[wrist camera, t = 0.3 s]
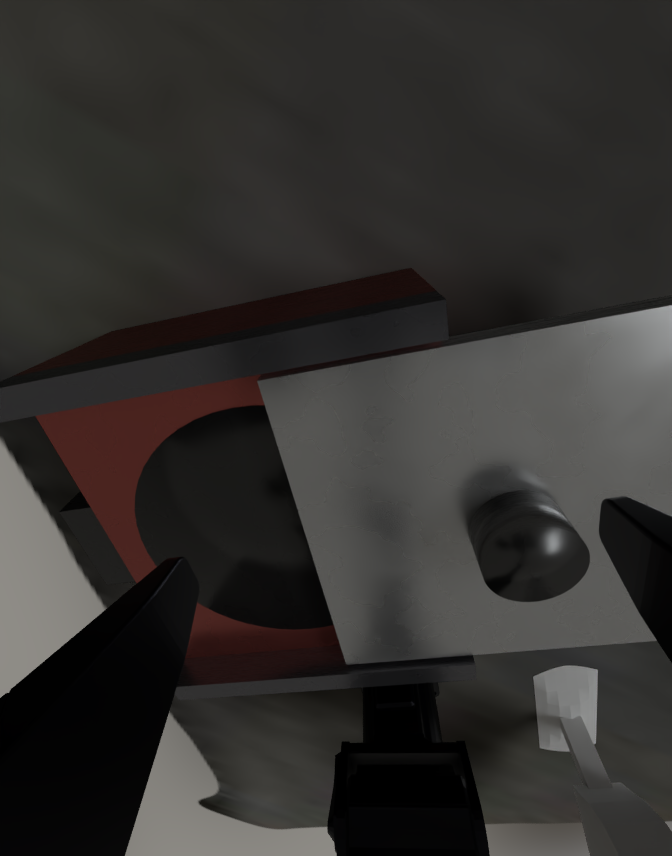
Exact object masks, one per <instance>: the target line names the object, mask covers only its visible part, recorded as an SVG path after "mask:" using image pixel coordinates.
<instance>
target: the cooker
mask: <svg viewBox="0 0 672 856" xmlns="http://www.w3.org/2000/svg"><path fill="white" fill-rule="evenodd" d="M443 340H449V333H448V320H447V308H446V299H445V298H444V297H443V296H442V295H440V294H439V293H438V292H437V291H436V290H435V289H434V288H433V287H432V286H431V285H430V284H428V283H427V282H426V281H425V280H424V279H423V278H422V277H421V276H420V275H419V274H418V273H416V272H415V271H414V270H413V269H412V268H408V269H403V270H399V271H394V272H389V273H385V274H380V275H375V276H370V277H366V278H361V279H356V280H352V281H347V282H342V283H337V284H333V285H328V286H323V287H319V288H314V289H309V290H304V291H300V292H295V293H290V294H286V295H281V296H276V297H271V298H267V299H262V300H257V301H253V302H248V303H243V304H238V305H234V306H229V307H224V308H220V309H215V310H210V311H205V312H201V313H196V314H191V315H187V316H182V317H177V318H172V319H168V320H163V321H158V322H154V323H149V324H144V325H139V326H135V327H130V328H125V329H121V330H116V331H112V332H109V333H107V334H105V335H103V336H100V337H98V338H96V339H94V340H92V341H89V342H87V343H85V344H83V345H81V346H78V347H76V348H74V349H72V350H70V351H67V352H65V353H63V354H61V355H58V356H56V357H54V358H52V359H50V360H47V361H45V362H43V363H41V364H39V365H36V366H34V367H32V368H30V369H28V370H25V371H23V372H21V373H19V374H17V375H14V376H12V377H10V378H8V379H5V380H3V381H1V382H0V422H6V421H11V420H17V419H22V418H27V417H33V416H36V418H37V420H38V421H39V423H40V425H41V426H42V428H43V430H44V431H45V433H46V434H47V436H48V438H49V439H50V441H51V443H52V444H53V446H54V448H55V449H56V451H57V453H58V454H59V456H60V458H61V459H62V461H63V463H64V464H65V466H66V468H67V469H68V471H69V472H70V474H71V476H72V477H73V479H74V481H75V482H76V484H77V486H78V487H79V489H80V491H81V492H79V493H78V494H77V495H76V496H75V497H74V498H73V499H72V500H71V501H70V502H69V503H68V504H67V505H66V506H65V507H64V508H63V509H62V510H61V511H60V512H59V513H60V514H61V516H62V517H63V519H64V520H65V522H66V523H67V525H68V526H69V528H70V529H71V531H72V533H73V534H74V536H75V537H76V539H77V540H78V542H79V543H80V545H81V546H82V548H83V549H84V551H85V552H86V554H87V555H88V557H89V559H90V560H91V562H92V563H93V565H94V566H95V568H96V569H97V571H98V572H99V574H100V575H101V577H102V578H103V580H104V581H105V583H106V585H110V584H118V583H127V582H136V583H138V582H139V581H141V580H142V579H143V578H144V577H145V576H146V575H148V574H149V573H150V572H151V571H152V570H154V569H155V568H156V567H157V566H158V565H160V564H161V563H162V562H163V561H164V560H166V559H168V558H174V557H185V558H186V559H187V560H188V562H189V564H190V565H191V567H192V569H193V571H194V573H195V575H196V577H197V579H198V581H199V587H200V589H199V596H198V601H197V606H196V610H195V615H194V620H193V625H192V630H191V635H190V640H189V644H188V649H187V653H186V657H185V661H184V664H183V668H182V671H181V675H180V678H179V681H178V684H177V688H176V691H175V695H176V697H177V698H178V700H189V699H203V698H218V697H232V696H246V695H261V694H275V693H290V692H304V691H318V690H333V689H347V688H362V687H376V686H390V685H405V684H419V683H434V682H448V681H462V680H476V669H475V662H474V658H473V655H466V656H453V657H440V658H428V659H415V660H402V661H389V662H376V663H363V664H350V665H346V662H345V659H344V656H343V653H342V649H341V646H340V643H339V640H338V637H337V634H336V630H335V627H334V624H333V621H332V618H331V614H330V611H329V608H328V605H327V602H326V599H325V595H324V592H323V589H322V586H321V583H320V579H319V576H318V573H317V570H316V567H315V564H314V560H313V557H312V554H311V551H310V548H309V544H308V541H307V538H306V535H305V532H304V529H303V525H302V522H301V519H300V516H299V513H298V509H297V506H296V503H295V500H294V497H293V494H292V490H291V487H290V484H289V481H288V478H287V474H286V471H285V468H284V465H283V462H282V459H281V455H280V452H279V449H278V446H277V443H276V439H275V436H274V433H273V430H272V427H271V423H270V420H269V417H268V414H267V411H266V408H265V404H264V401H263V398H262V395H261V392H260V388H259V385H258V382H257V381H258V379H259V377H260V376H261V374H265V373H270V372H276V371H281V370H287V369H292V368H297V367H303V366H308V365H314V364H319V363H324V362H330V361H335V360H341V359H346V358H351V357H357V356H362V355H368V354H373V353H378V352H384V351H389V350H395V349H400V348H405V347H411V346H416V345H422V344H427V343H432V342H438V341H443Z"/></svg>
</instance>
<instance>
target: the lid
mask: <svg viewBox="0 0 672 856" xmlns="http://www.w3.org/2000/svg"><path fill="white" fill-rule="evenodd" d="M257 382H258V385H259V388H260V392H261V395H262V398H263V401H264V404H265V408H266V411H267V414H268V417H269V420H270V423H271V427H272V430H273V433H274V436H275V439H276V443H277V446H278V449H279V452H280V455H281V459H282V462H283V465H284V468H285V471H286V474H287V478H288V481H289V484H290V487H291V490H292V494H293V497H294V500H295V503H296V506H297V509H298V513H299V516H300V519H301V522H302V525H303V529H304V532H305V535H306V538H307V541H308V544H309V548H310V551H311V554H312V557H313V560H314V564H315V567H316V570H317V573H318V576H319V579H320V583H321V586H322V589H323V592H324V595H325V599H326V602H327V605H328V608H329V611H330V614H331V618H332V621H333V624H334V627H335V630H336V634H337V637H338V640H339V643H340V646H341V649H342V653H343V656H344V659H345V662H346V665H350V664H363V663H376V662H389V661H402V660H415V659H428V658H440V657H453V656H466V655H479V654H492V653H505V652H518V651H530V650H543V649H556V648H569V647H582V646H595V645H608V644H620V643H633V642H646V641H657V640H656V638H655V637H654V635H653V634H652V632H651V631H650V629H649V628H648V626H647V625H646V623H645V622H644V620H643V618H642V617H641V615H640V614H639V612H638V610H637V608H636V606H635V605H634V603H633V601H632V599H631V597H630V595H629V593H628V592H627V590H626V588H625V586H624V584H623V582H622V580H621V578H620V576H619V574H618V572H617V571H616V569H615V567H614V565H613V563H612V561H611V559H610V557H609V555H608V553H607V551H606V550H605V548H604V546H603V544H602V542H601V539H600V536H599V521H600V509H601V503H602V501H603V500H604V499H606V498H612V497H620V496H627V497H630V498H632V499H635V500H637V501H639V502H641V503H644V504H646V505H648V506H650V507H653V508H655V509H657V510H659V511H662V512H664V513H666V514H668V515H671V516H672V295H669V296H664V297H659V298H653V299H648V300H643V301H637V302H632V303H626V304H621V305H616V306H610V307H605V308H600V309H594V310H589V311H583V312H578V313H573V314H567V315H562V316H557V317H551V318H546V319H541V320H535V321H530V322H524V323H519V324H514V325H508V326H503V327H498V328H492V329H487V330H481V331H476V332H471V333H465V334H460V335H455V336H449V340H443V341H438V342H432V343H427V344H422V345H416V346H411V347H405V348H400V349H395V350H389V351H384V352H378V353H373V354H368V355H362V356H357V357H351V358H346V359H341V360H335V361H330V362H324V363H319V364H314V365H308V366H303V367H297V368H292V369H287V370H281V371H276V372H270V373H265V374H261V376H260V377H259V379H258V381H257Z"/></svg>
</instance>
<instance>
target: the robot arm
mask: <svg viewBox="0 0 672 856" xmlns="http://www.w3.org/2000/svg"><path fill="white" fill-rule="evenodd" d="M599 536H600V539H601V542H602V544H603V546H604V548H605V550H606V551H607V553H608V555H609V557H610V559H611V561H612V563H613V565H614V567H615V569H616V571H617V572H618V574H619V576H620V578H621V580H622V582H623V584H624V586H625V588H626V590H627V592H628V593H629V595H630V597H631V599H632V601H633V603H634V605H635V606H636V608H637V610H638V612H639V614H640V615H641V617H642V618H643V620H644V622H645V623H646V625H647V626H648V628H649V629H650V631H651V632H652V634H653V635H654V637H655V638H656V640H657V641H658V643H659V644H660V646H661V647H662V649H663V650H664V652H665V653H666V655H667V656H668V658H669V659H670V661H671V662H672V516H671V515H668V514H666V513H664V512H662V511H659V510H657V509H655V508H653V507H650V506H648V505H646V504H644V503H641V502H639V501H637V500H635V499H632V498H630V497H627V496H620V497H612V498H606V499H604V500H603V501H602V503H601V509H600V521H599ZM199 589H200V587H199V581H198V579H197V577H196V575H195V573H194V571H193V569H192V567H191V565H190V564H189V562H188V560H187V559H186V558H185V557H174V558H168V559H166V560H164V561H163V562H162V563H161V564H160V565H158V566H157V567H156V568H155V569H154V570H152V571H151V572H150V573H149V574H148V575H146V576H145V577H144V578H143V579H142V580H141V581H139V582H138V583H137V584H136V585H135V586H133V587H132V588H131V589H130V590H129V591H127V592H126V593H125V594H124V595H123V596H121V597H120V598H119V599H118V600H117V601H116V602H114V603H113V604H112V605H111V606H110V607H108V608H107V609H106V610H105V611H104V612H102V614H100V615H99V616H98V617H97V618H95V619H94V620H93V621H92V622H91V623H89V624H88V625H87V626H86V627H85V628H83V629H82V630H81V631H80V632H79V633H77V634H76V635H75V636H74V637H73V638H71V639H70V640H69V641H68V642H67V643H65V644H64V645H63V646H62V647H61V648H60V649H59V650H57V651H56V652H55V653H54V654H52V655H51V656H50V657H49V658H48V659H46V660H45V661H44V662H43V663H42V664H40V665H39V666H38V667H37V668H36V669H35V670H33V671H32V672H31V673H30V674H29V675H27V676H26V677H25V678H24V679H23V680H22V681H20V682H19V683H18V684H17V685H16V686H14V687H13V688H12V689H11V690H10V692H9V693H6V694H5V695H3V696H2V697H1V698H0V856H125V853H126V850H127V846H128V843H129V840H130V837H131V834H132V830H133V827H134V824H135V821H136V817H137V814H138V811H139V808H140V804H141V801H142V798H143V795H144V791H145V788H146V785H147V782H148V779H149V775H150V772H151V768H152V765H153V762H154V759H155V756H156V753H157V749H158V746H159V743H160V739H161V736H162V733H163V730H164V727H165V723H166V720H167V717H168V714H169V710H170V707H171V704H172V701H173V697H174V694H175V691H176V688H177V684H178V681H179V678H180V675H181V671H182V668H183V664H184V661H185V657H186V653H187V649H188V644H189V640H190V635H191V630H192V625H193V620H194V615H195V610H196V606H197V601H198V596H199ZM361 690H362V693H363V743H350V742H342V746H341V752H340V753H338V754H337V755H335V776H334V787H333V793H332V799H331V805H330V811H329V817H328V834H329V835H330V837H331V838H332V840H333V841H334V843H335V851H336V853H337V856H490V855H489V848H488V840H487V834H486V828H485V823H484V818H483V813H482V808H481V804H480V800H479V796H478V792H477V788H476V784H475V780H474V776H473V772H472V769H471V765H470V761H469V757H468V753H467V749H466V745H465V741H457V742H442V736H441V730H440V724H439V717H438V711H437V705H436V699H435V697H436V696H438V695H439V687H438V682H434V683H419V684H405V685H390V686H376V687H362V688H361Z"/></svg>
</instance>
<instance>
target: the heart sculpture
mask: <svg viewBox="0 0 672 856" xmlns="http://www.w3.org/2000/svg"><path fill="white" fill-rule="evenodd" d="M597 678H598V670H597V669H592V668H587V667H580V666H561V667H557V668H553V669H551V670H548V671H545V672H543V673H540V674H538V675H536V676H534V677H533V680H534V691H535V701H536V712H537V723H538V734H539V744H540V748H543V749H548V750H555V751H570V753H571V755H572V758H573V760H574V763H575V765H576V768H577V770H578V773H579V775H580V778H581V780H582V783H583V785H573V788H574V792H575V796H576V800H577V804H578V808H579V812H580V816H581V820H582V824H583V828H584V832H585V836H586V841H587V845H588V849H589V852H590V856H672V832H671V830H670V829H669V827H668V826H667V824H666V823H665V821H664V820H663V819H662V818H661V817H660V816H659V815H658V814H657V813H656V812H655V811H654V810H653V809H652V808H651V807H650V806H649V805H648V804H647V803H646V802H645V801H644V800H643V799H642V798H640V797H639V796H638V795H636V794H635V793H633V792H632V791H630V790H629V789H628V788H627V787H626V786H625V785H623V784H622V783H621V782H619V783H611V782H610V780H609V778H608V775H607V773H606V771H605V769H604V766H603V764H602V762H601V760H600V757H599V755H598V753H597V751H596V749H595V746H594V744H596V719H597Z"/></svg>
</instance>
